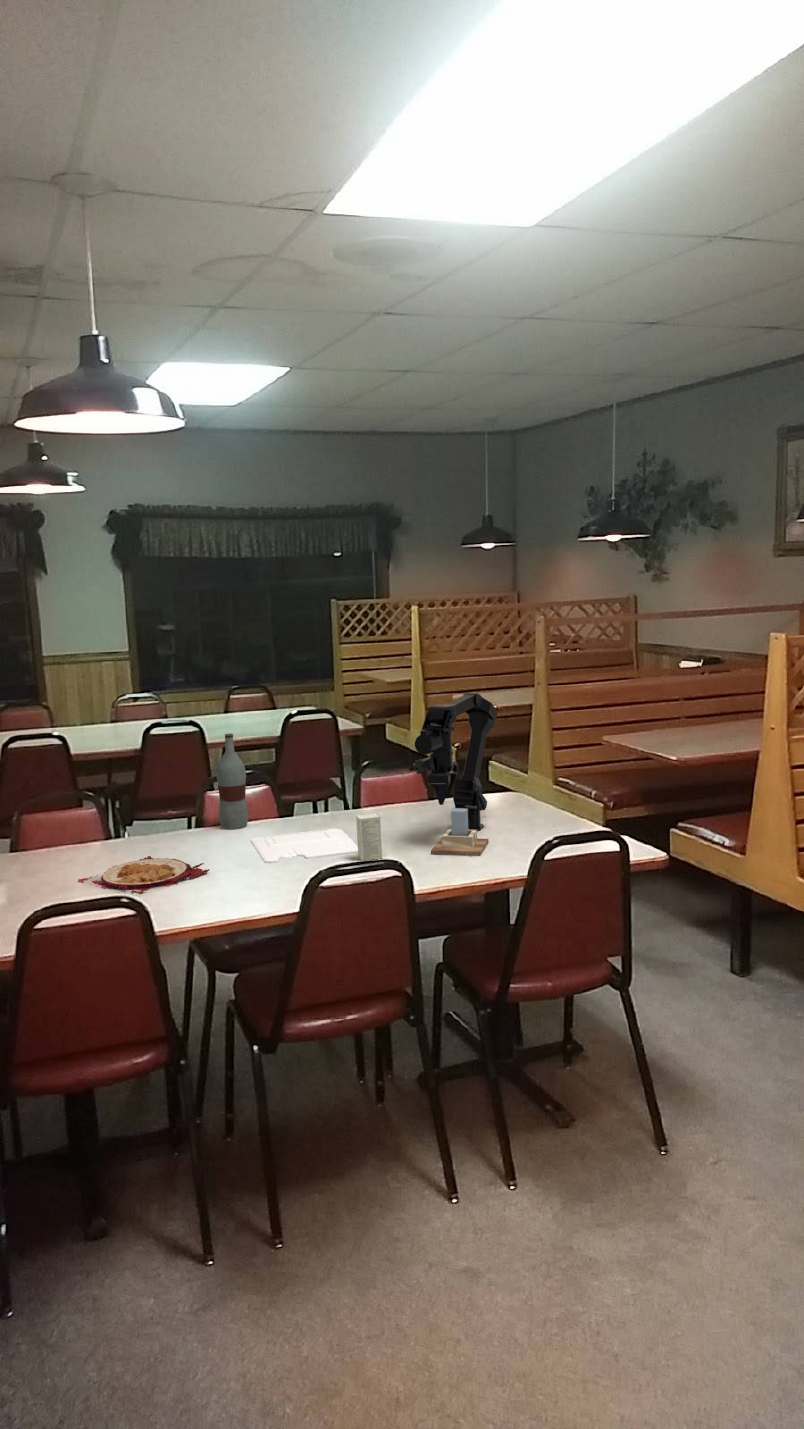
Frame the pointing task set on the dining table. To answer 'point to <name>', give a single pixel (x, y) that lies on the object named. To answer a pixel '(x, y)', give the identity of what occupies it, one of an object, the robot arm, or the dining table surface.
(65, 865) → the dining table surface
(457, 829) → the peg
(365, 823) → the skincare box
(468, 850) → the socket block
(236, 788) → the bottle
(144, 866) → the plate with food
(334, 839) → the tray
